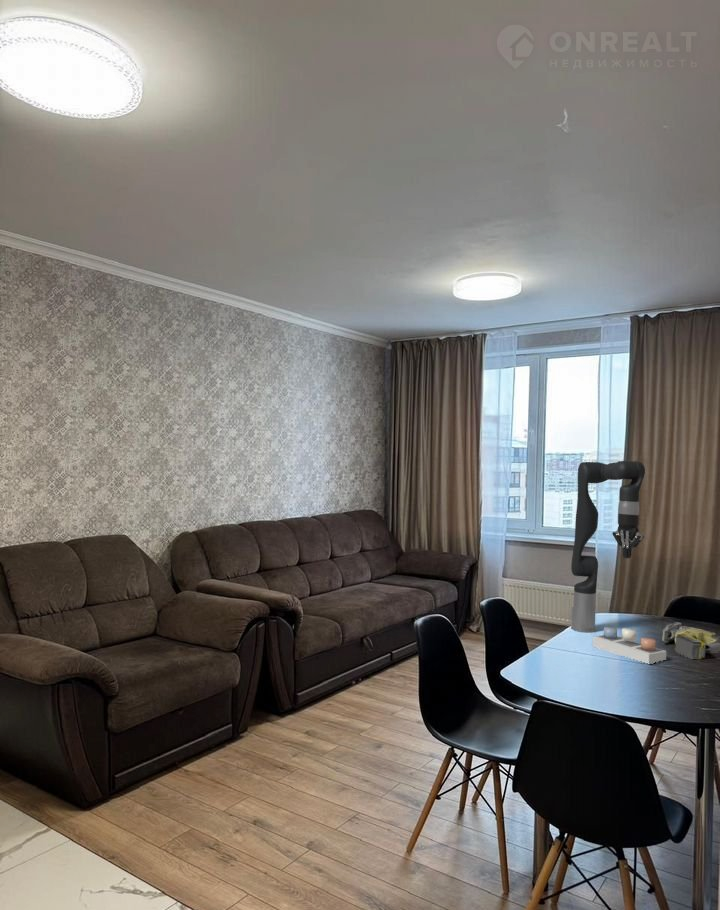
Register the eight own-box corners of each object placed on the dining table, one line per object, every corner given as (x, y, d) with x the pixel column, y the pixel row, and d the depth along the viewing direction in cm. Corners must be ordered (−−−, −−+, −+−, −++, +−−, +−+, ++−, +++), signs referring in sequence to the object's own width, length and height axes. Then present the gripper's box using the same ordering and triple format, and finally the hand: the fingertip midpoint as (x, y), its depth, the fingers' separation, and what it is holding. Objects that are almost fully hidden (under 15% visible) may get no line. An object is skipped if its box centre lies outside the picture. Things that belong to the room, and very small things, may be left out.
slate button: (600, 636, 256) (601, 627, 256) (609, 634, 259) (609, 626, 259) (611, 639, 252) (611, 630, 252) (619, 638, 255) (620, 629, 255)
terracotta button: (638, 647, 242) (638, 638, 242) (646, 646, 244) (646, 637, 244) (649, 651, 237) (650, 642, 237) (658, 650, 240) (658, 640, 240)
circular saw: (665, 636, 276) (730, 652, 258) (639, 648, 254) (707, 666, 237) (667, 612, 276) (732, 626, 258) (641, 622, 254) (710, 638, 237)
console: (593, 646, 256) (593, 636, 257) (609, 643, 261) (610, 633, 261) (648, 665, 235) (649, 653, 235) (666, 661, 240) (666, 650, 240)
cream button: (619, 637, 249) (619, 628, 249) (627, 636, 252) (627, 627, 252) (630, 641, 245) (630, 632, 245) (638, 639, 247) (639, 630, 247)
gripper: (607, 511, 252) (606, 555, 252) (637, 514, 240) (635, 561, 240) (620, 511, 255) (618, 555, 255) (650, 514, 244) (648, 560, 244)
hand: (627, 557), depth 248 cm, fingers closed
